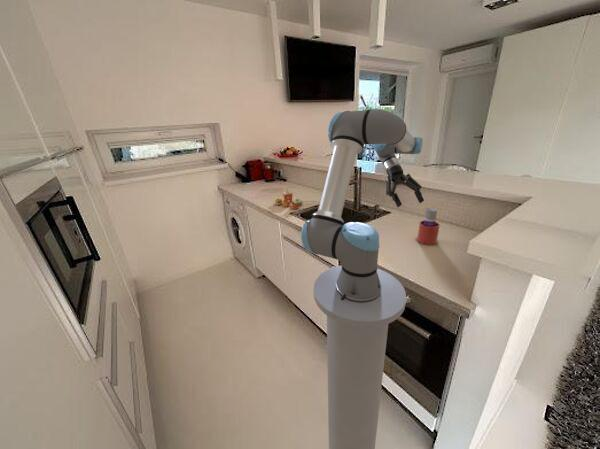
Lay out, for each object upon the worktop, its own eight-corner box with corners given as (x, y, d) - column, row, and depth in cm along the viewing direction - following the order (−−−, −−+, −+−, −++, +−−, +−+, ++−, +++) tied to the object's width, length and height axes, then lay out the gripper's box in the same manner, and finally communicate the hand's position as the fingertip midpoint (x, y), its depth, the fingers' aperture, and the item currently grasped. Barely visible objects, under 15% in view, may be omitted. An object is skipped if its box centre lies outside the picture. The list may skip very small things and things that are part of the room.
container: (425, 242, 114) (429, 211, 108) (419, 238, 118) (423, 208, 112) (434, 241, 114) (439, 210, 108) (428, 237, 118) (433, 207, 113)
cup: (426, 246, 112) (429, 228, 108) (413, 239, 119) (415, 222, 115) (440, 242, 114) (443, 225, 111) (426, 236, 121) (429, 219, 118)
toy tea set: (271, 204, 185) (270, 191, 181) (287, 199, 194) (286, 187, 190) (294, 211, 167) (293, 197, 163) (310, 205, 176) (309, 192, 172)
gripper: (408, 170, 135) (425, 203, 127) (369, 175, 128) (385, 211, 120) (416, 161, 128) (435, 196, 121) (376, 166, 121) (394, 203, 113)
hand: (411, 203), depth 120 cm, fingers open, 13 cm apart
